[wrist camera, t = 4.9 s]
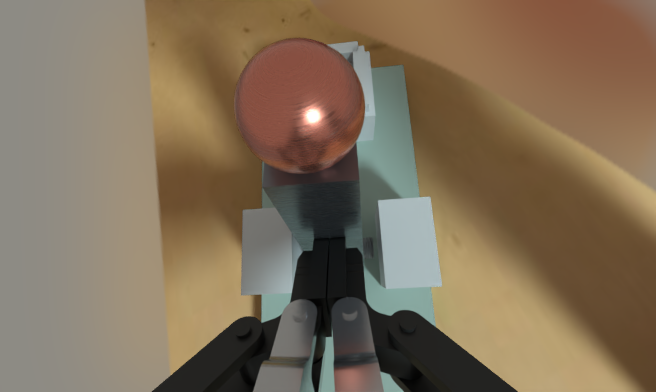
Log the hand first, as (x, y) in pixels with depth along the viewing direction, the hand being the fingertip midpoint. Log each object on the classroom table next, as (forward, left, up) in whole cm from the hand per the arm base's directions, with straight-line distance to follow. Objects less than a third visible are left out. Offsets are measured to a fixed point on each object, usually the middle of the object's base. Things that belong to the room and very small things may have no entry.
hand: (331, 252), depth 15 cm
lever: (0, -1, -6) cm, 6 cm away
